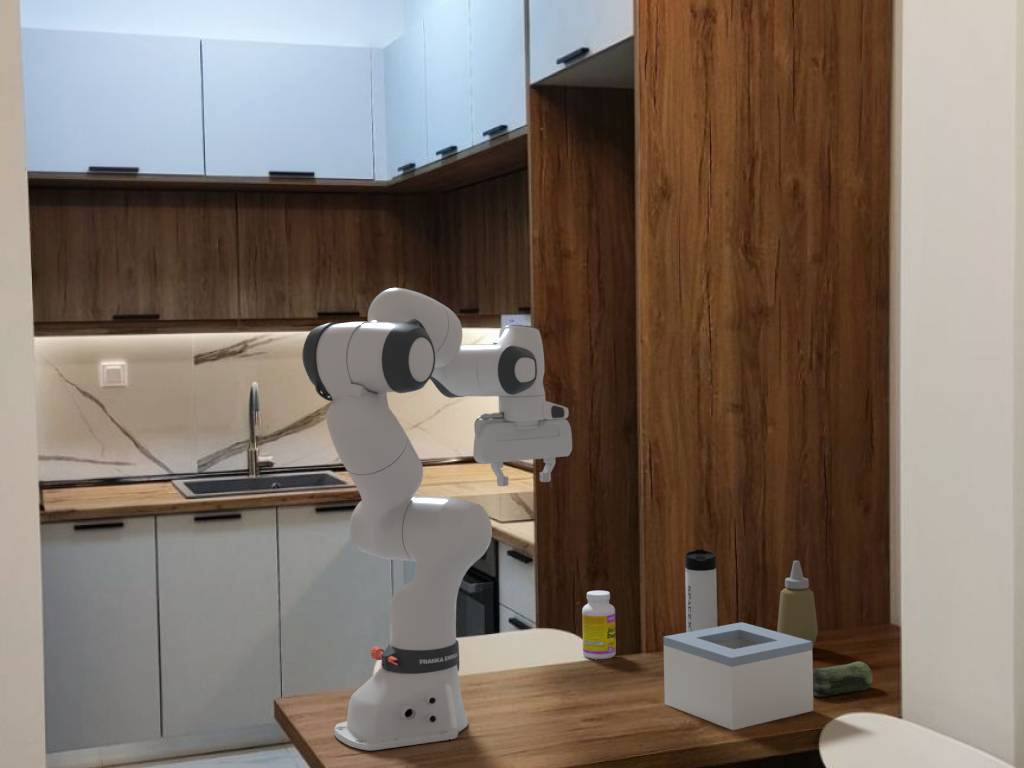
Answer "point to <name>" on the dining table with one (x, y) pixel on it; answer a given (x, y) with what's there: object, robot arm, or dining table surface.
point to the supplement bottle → (598, 626)
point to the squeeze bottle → (797, 607)
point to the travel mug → (700, 590)
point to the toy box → (738, 674)
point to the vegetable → (841, 679)
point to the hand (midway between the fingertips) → (524, 483)
